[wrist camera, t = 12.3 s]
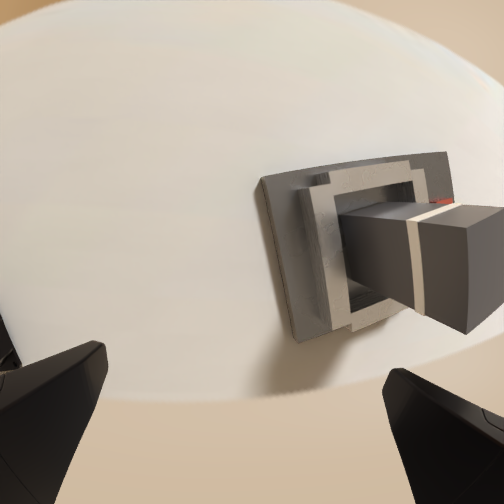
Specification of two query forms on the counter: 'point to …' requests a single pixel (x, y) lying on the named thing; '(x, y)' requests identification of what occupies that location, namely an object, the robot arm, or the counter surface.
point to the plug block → (430, 257)
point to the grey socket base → (340, 233)
